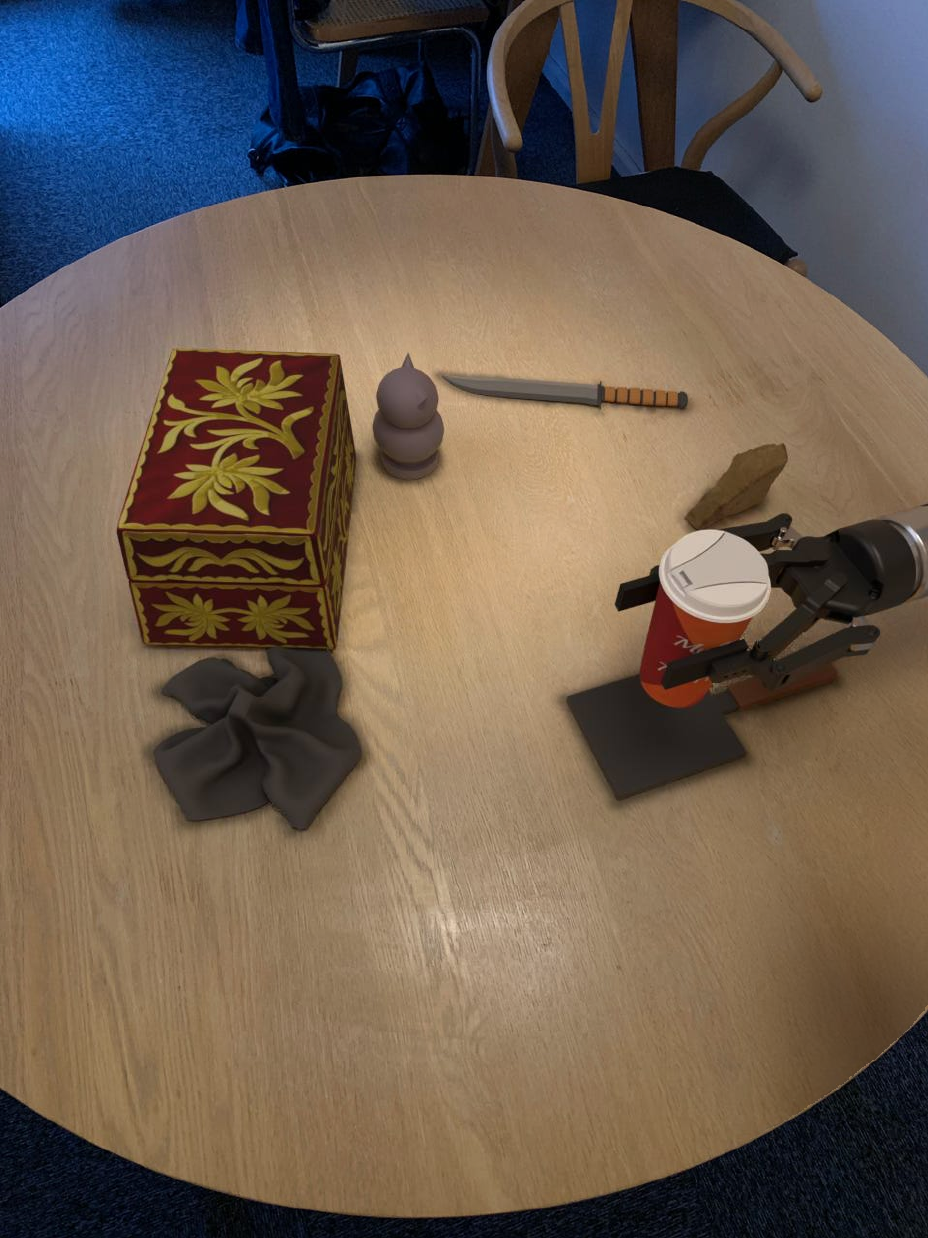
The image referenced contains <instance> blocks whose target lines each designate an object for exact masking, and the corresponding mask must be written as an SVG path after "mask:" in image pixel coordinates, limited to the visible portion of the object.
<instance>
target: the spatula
mask: <svg viewBox="0 0 928 1238" xmlns="http://www.w3.org/2000/svg"><path fill="white" fill-rule="evenodd" d="M839 674H840V673H839V672H838V671H837V669H836V668H835V667H834V665H833V663H831V664H829V665H827V666H825V667H823V668H821V669H819V670H817V671H815V672H813V673H811V674H809V675H807V676H805V677H803V678H801V679H798V680H796V681H794V682H792V683H790V684H788V685H786V686H784V687H782V688H780V689H778V690H776V691H768V690H766V689H765V688H764V686H763V681H762V680H760V679H759V678H758V677H756V676H754V677H752V678H748V679H745V680H742V681H739V682H736V683H733V684H730V685H727V687H726V689H725V690H724V691H721V692H718V693H715V694H712V695H711V693H710V692H709V691H708V692H707V693H706V695H705V696H704V697H703V698H702V699H701V700H700V701H699V702H698V703H696V704H694V705H692V706H688V707H682V708H677V707H670V706H666V705H664V704H661V703H659V702H657V701H656V700H654V699H653V698H652V697H651V696H650V695H649V694H648V693H647V692H646V691H645V689H644V688H643V686H642V684H641V681H640V673H638V674H637V673H636V674H634V675H631V676H628V677H625V678H621V679H618V680H615V681H612V682H608V683H606V684H602V685H599V686H596V687H593V688H589V689H586V690H583V691H580V692H577V693H574V694H570V695H567V696H566V703H567V705H568V707H569V709H570V711H571V713H572V715H573V716H574V719H575V721H576V722H577V725H578V727H579V728H580V730H581V732H582V734H583V736H584V739H586V742H587V743H588V745H589V747H590V749H591V751H592V753H593V755H594V758H595V759H596V760H597V761H596V762H597V763H598V765H599V767H600V768H601V770H602V772H603V774H604V776H605V778H606V780H607V782H608V784H609V786H610V788H611V790H612V791H613V794H614V795H615V797H616V800H617V801H621V800H624V799H626V798H630V797H632V796H635V795H638V794H642V793H643V792H646V791H649V790H652V789H655V788H659V787H661V786H663V785H666V784H669V783H672V782H675V781H678V780H681V779H683V778H687V777H690V776H692V775H695V774H698V773H702V772H704V771H707V770H710V769H713V768H716V767H719V766H721V765H725V764H727V763H729V762H733V761H736V760H739V759H742V758H744V757H746V754H747V750H746V749H745V747H744V746H743V744H742V743H741V741H740V739H739V738H738V736H737V734H736V733H735V731H734V730H733V728H732V727H731V725H730V723H729V721H727V719H726V717H725V715H728V714H731V713H734V712H736V713H738V714H739V713H741V712H744V711H746V710H749V709H753V708H755V707H758V706H762V705H764V704H768V703H770V702H773V701H774V702H775V701H777V700H779V699H782V698H786V697H789V696H792V695H795V694H797V693H801V692H805V691H807V690H809V689H813V688H815V687H819V686H821V685H825V684H827V683H831V682H833V681H835V680H836V679H837V677H838V676H839Z"/></svg>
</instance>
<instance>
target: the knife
mask: <svg viewBox="0 0 928 1238" xmlns="http://www.w3.org/2000/svg"><path fill="white" fill-rule="evenodd" d="M441 376H442V377H443V378H444V379H445V380H446V381H447V382H449V383H450V384H452V386H454V387H456V388H458V389H461V390H462V391H465V392H468V393H472V394H477V395H483V396H489V397H490V396H492V397H498V398H499V397H500V398H511V399H525V400H526V399H527V400H536V401H537V400H538V401H551V402H562V403H563V402H564V403H577V404H587V405H591V406H598V408H599V410H601V409H602V402H611V403H615V402H616V403H618V404H619V403H620V404H627V403H628V404H631V405H640V404H641V405H642V406H653V405H654V406H660V407H661V406H662V407H665V406H667V407H679V408H681V409H685V408H686V407H688V404H689V396H688V393H686V391H684V390H683V391H682V390H681V391H679V392H678V391H672V390H671V391H670V390H667V391H666V390H661V389H655V390H654V389H652V388H651V389H650V388H642V389H641V388H639V387H637V388H636V387H629V388H628V387H624V386H623V387H622V386H617V387H616V386H605V385H603V384H602V380H600V381H599V384H589V383H578V382H567V381H566V382H564V381H552V380H538V379H525V378H513V377H512V378H511V377H474V376H461V375H459V376H458V375H446V374H445V375H444V374H442V375H441Z"/></svg>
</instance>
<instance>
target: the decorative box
mask: <svg viewBox="0 0 928 1238" xmlns="http://www.w3.org/2000/svg"><path fill="white" fill-rule="evenodd" d="M345 384H346V383H345V378H344V373H343V365H342V360H341V355H340V354H338V353H328V352H327V353H325V352H298V351H297V352H295V351H267V350H237V349H210V348H209V349H207V348H173V349H172V350H171V353H170V354H169V359H168V361H167V365H166V367H165V371H164V374H163V377H162V379H161V383H160V387H159V389H158V393H157V396H156V399H155V402H154V405H153V408H152V412H151V415H150V418H149V422H148V424H147V428H146V431H145V435H144V437H143V440H142V443H141V447H140V450H139V453H138V456H137V460H136V463H135V466H134V469H133V473H132V476H131V480H130V482H129V485H128V489H127V492H126V495H125V498H124V502H123V505H122V508H121V511H120V514H119V518H118V521H117V525H116V536H117V541H118V544H119V545H118V546H119V549H120V553H121V558H122V562H123V567H124V571H125V575H126V578H127V580H128V585H129V586H128V587H129V592H130V596H131V600H132V604H133V608H134V612H135V617H136V622H137V625H138V629H139V634H140V638H141V641H142V643H143V644H144V645H147V646H173V647H174V646H175V647H219V648H221V647H222V648H224V647H225V648H258V649H259V648H261V649H266V648H272V647H282V648H299V649H328V650H335V649H336V647H337V643H338V639H339V630H340V623H341V622H340V621H341V614H342V613H341V612H342V602H343V593H344V582H345V574H346V563H347V554H348V545H349V534H350V524H351V513H352V506H353V496H354V486H355V485H354V484H355V474H356V466H357V465H356V463H357V453H356V445H355V440H354V434H353V433H354V432H353V427H352V421H351V415H350V408H349V403H348V397H347V396H348V395H347V390H346V385H345Z"/></svg>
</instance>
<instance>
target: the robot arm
mask: <svg viewBox="0 0 928 1238" xmlns="http://www.w3.org/2000/svg"><path fill="white" fill-rule="evenodd" d="M793 521H794V520H793V516H791V514H788V513H786V512H781V513H779V514H777V515H775V516H773V517H772V518H770V519H768V520H766V521H761V522H755V523H749V524H742V525H736V526H730V527H725V528H717V529H716V530H721V531H725V532H728V533H731V534H733V535H736V536H738V537H740V538H742V539H744V540H746V541H747V542H749V543H750V544H751V545H752V546H753V547H755V549H756V550H757V551H758V552H759V553H760V554H761V555H762V557H763V558H764V559H765V561H766V563H767V566H768V572H769V574H768V575H769V578H770V583H771V589H781V590H782V591H783V592H784V593H785V595H787V596H788V597H789V598H790V599H791V602H792V604H793V606H794V608H795V609H794V610H793V611H792V612H791V613H789V615H787V617H785V618H784V619H783V620H782V621H780V622H779V623H778V624H777V625H776V626H775V627H773V629H771V630H770V631H769V632H768V633H767V634H765V635H764V636H763V637H762V638H760V640H755V642H754V644H753V646H752V648H751V649H749V648H750V646H749V644H748V642H747V640H746V639H745V638H740V640H738V641H735V642H732V643H729V644H726V645H723V646H719V647H716V648H713V649H710V650H706V651H703V652H700V653H697V654H694V655H690V656H687V657H684V658H681V659H678V660H674V661H671V662H668V664H667V667H666V669H665V672H664V674H663V677H662V680H661V684H662V686H663V687H664V689H665V690H667V689H670V688H673V687H677V686H680V685H683V684H686V683H689V682H692V681H695V680H698V679H701V678H704V677H709V679H710V680H711V682H712V683H713V684H722V683H725V682H729V681H732V680H734V679H738V678H740V677H744V676H747V675H750V676H754V677H758V678H759V679H760V680H762V681H763V686H764V688H765V689H766V690H768V691H776V690H778V689H780V688H782V687H784V686H786V685H788V684H790V683H792V682H794V681H796V680H798V679H801V678H803V677H805V676H807V675H809V674H811V673H813V672H815V671H817V670H819V669H821V668H823V667H825V666H827V665H829V664H833V663H835V662H837V661H839V660H842V659H843V658H849V657H860V656H866V655H867V654H869V652H870V651H871V649H872V648H873V646H874V645H875V643H876V642H877V640H878V639H879V638H880V636H881V629H880V628H879V627H878V626H876V625H874V624H869V623H868V621H867V619H866V617H868V616H871V615H875V614H878V613H881V612H884V611H887V610H890V609H894V608H898V607H899V606H902V605H903V604H907V603H912V602H914V601H918V600H921V599H924V598H927V597H928V503H925V504H924V503H923V504H921V505H916V506H912V507H908V508H905V509H902V510H898V511H894V512H891V513H887V514H884V515H880V516H877V517H875V518H874V519H872V518H871V519H868V520H863V521H861V522H857V523H853V524H851V525H847V526H844V527H840V528H837V529H835V530H833V531H832V532H829V533H827V534H825V535H823V536H812V535H805V536H802V535H801V534H800V533H799V532H798V531H797V530H796V529H795V528H794V527H792V526H791V525H792V523H793ZM781 548H789V549H781ZM770 549H772V550H773V551H772V552H769V553H765V552H764V551H767V550H770ZM761 552H764V553H761ZM659 566H660V564H657V565H655V566H653V567H652V568H651V569H650V571H649V574H648V575H646V576H642V577H639V578H636V579H633V580H629V581H625V582H622V583H620V584H619V587H618V590H617V595H616V597H615V601H614V606H615V608H616V610H617V612H619V613H620V612H622V611H626V610H629V609H633V608H637V607H640V606H643V605H646V604H649V603H653V602H655V601H656V597H657V592H658V588H659V584H660V577H659ZM820 620H826V621H831V622H834V623H838V624H839V623H840V624H843V625H845V626H844V628H842V629H839V630H837V631H835V632H833V633H831V634H829V635H827V636H825V637H823V638H821V639H819V640H817V641H815V642H812V643H810V644H808V645H806V646H803V647H802V648H800V649H797V650H796V651H794V652H792V653H790V654H787V655H786V656H783V657H781V658H779V659H777V660H776V659H775V658H777V657H778V656H779V655H780V654H781V653H782V652H783V651H784V650H785V649H786V648H788V646H790V645H791V644H792V643H793V642H795V640H797V638H799V637H800V636H801V635H802V634H804V633H806V632H808V631H809V630H810V629H811V628H812V627H813V626H814V625H815V624H817V623H818V622H819V621H820Z"/></svg>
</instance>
